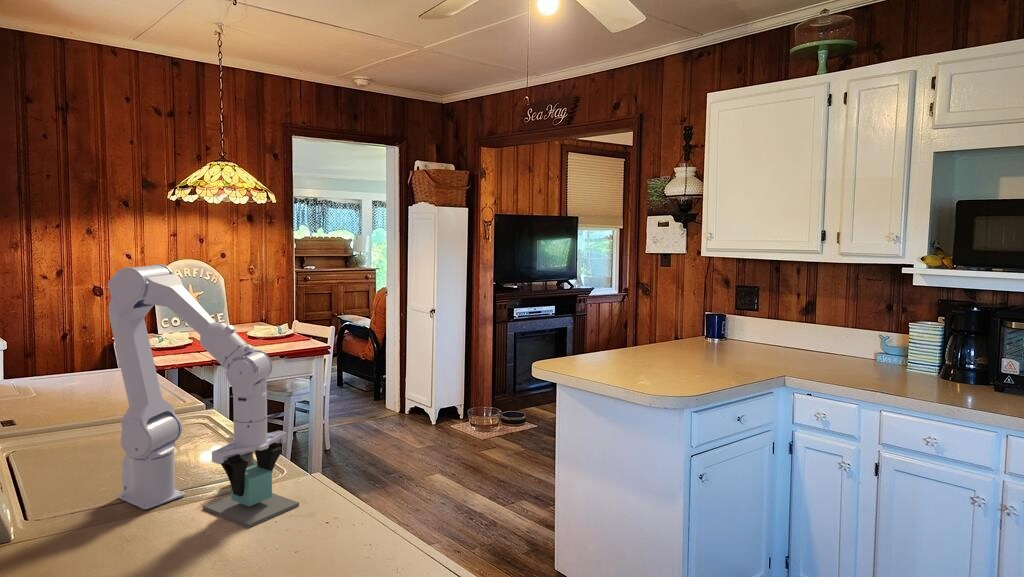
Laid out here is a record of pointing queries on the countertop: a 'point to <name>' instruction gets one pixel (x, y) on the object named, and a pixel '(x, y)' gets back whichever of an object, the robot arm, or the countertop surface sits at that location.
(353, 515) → the countertop surface
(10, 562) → the countertop surface
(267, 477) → the teal cube
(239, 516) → the charcoal mat
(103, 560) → the countertop surface
